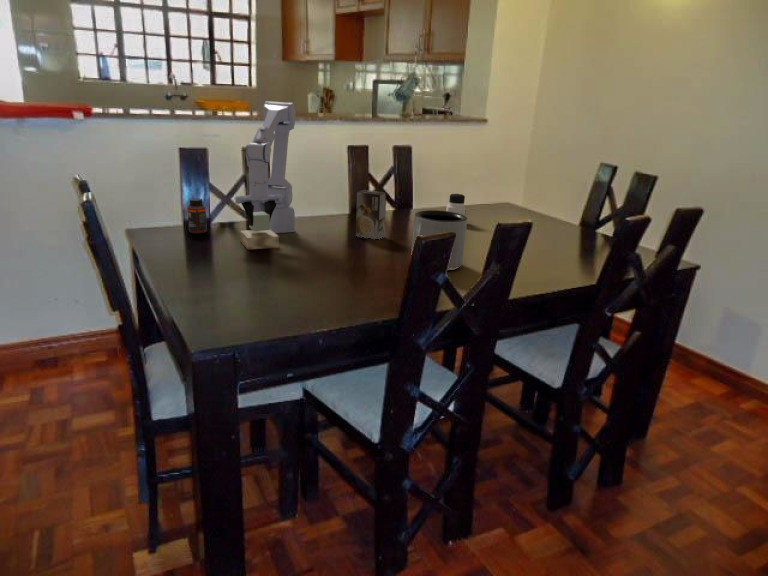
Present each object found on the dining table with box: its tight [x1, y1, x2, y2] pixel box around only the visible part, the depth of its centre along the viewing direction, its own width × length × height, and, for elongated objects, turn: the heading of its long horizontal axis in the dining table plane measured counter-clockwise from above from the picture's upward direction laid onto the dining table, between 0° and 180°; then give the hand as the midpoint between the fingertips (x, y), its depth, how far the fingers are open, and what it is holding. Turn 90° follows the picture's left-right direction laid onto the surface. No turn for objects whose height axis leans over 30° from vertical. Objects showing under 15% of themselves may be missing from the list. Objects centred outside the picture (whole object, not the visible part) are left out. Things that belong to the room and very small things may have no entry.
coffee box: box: [355, 189, 387, 240], centre depth 198 cm, size 9×6×16 cm
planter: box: [410, 209, 468, 269], centre depth 170 cm, size 16×16×16 cm
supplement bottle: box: [187, 198, 208, 234], centre depth 191 cm, size 6×6×11 cm
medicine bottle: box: [445, 193, 467, 216], centre depth 229 cm, size 7×7×12 cm
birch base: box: [239, 229, 280, 250], centre depth 182 cm, size 10×10×4 cm
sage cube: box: [248, 211, 270, 231], centre depth 180 cm, size 5×5×5 cm
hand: (259, 224), depth 181 cm, fingers closed on sage cube, 5 cm apart
